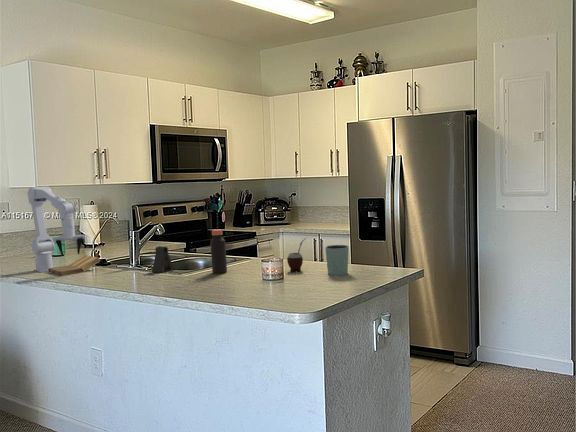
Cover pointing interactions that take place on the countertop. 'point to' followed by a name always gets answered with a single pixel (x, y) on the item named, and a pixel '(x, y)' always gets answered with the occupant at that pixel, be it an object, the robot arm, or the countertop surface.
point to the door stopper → (162, 260)
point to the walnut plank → (64, 270)
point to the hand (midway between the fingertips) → (70, 254)
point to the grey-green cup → (337, 259)
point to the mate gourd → (295, 260)
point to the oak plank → (85, 262)
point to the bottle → (218, 252)
